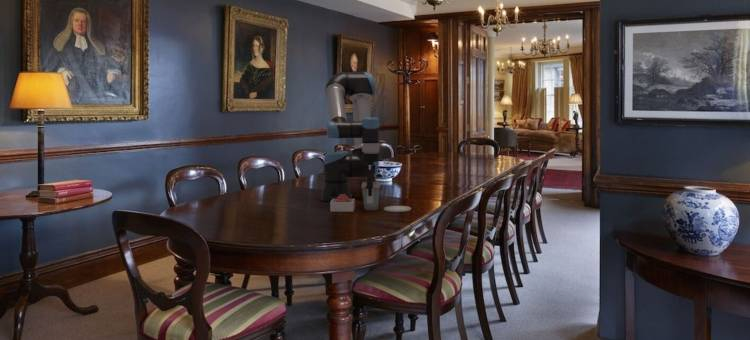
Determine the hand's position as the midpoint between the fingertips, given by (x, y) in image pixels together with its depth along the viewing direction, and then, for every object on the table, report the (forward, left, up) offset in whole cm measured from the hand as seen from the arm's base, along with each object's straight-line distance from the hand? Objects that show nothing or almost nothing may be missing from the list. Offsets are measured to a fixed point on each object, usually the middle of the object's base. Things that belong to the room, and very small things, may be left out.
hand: (370, 200), depth 251 cm
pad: (+8, +9, -4) cm, 12 cm away
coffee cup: (0, 0, -4) cm, 4 cm away
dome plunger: (-8, -10, -2) cm, 13 cm away
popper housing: (-8, -10, -4) cm, 13 cm away
